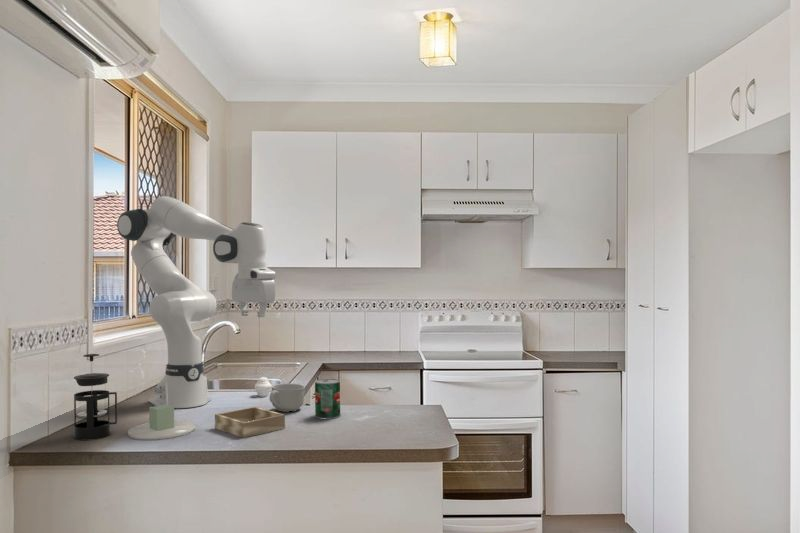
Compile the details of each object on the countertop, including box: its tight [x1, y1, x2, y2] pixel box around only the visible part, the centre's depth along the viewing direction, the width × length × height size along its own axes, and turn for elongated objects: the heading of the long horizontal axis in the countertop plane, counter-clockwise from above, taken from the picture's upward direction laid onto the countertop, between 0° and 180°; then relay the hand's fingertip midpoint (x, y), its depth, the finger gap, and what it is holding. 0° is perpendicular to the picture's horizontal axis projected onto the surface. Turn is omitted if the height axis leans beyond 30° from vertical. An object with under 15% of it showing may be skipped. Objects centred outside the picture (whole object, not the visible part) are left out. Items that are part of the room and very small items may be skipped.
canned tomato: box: [314, 378, 341, 420], centre depth 201 cm, size 8×8×11 cm
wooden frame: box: [214, 406, 286, 438], centre depth 186 cm, size 16×14×4 cm
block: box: [148, 404, 175, 431], centre depth 184 cm, size 5×5×6 cm
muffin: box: [254, 376, 273, 398], centre depth 233 cm, size 6×6×7 cm
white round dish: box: [127, 419, 196, 441], centre depth 184 cm, size 18×18×1 cm
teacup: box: [269, 383, 306, 413], centre depth 208 cm, size 14×11×8 cm
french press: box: [73, 353, 118, 441], centre depth 180 cm, size 12×9×23 cm
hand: (252, 316), depth 205 cm, fingers open, 8 cm apart
